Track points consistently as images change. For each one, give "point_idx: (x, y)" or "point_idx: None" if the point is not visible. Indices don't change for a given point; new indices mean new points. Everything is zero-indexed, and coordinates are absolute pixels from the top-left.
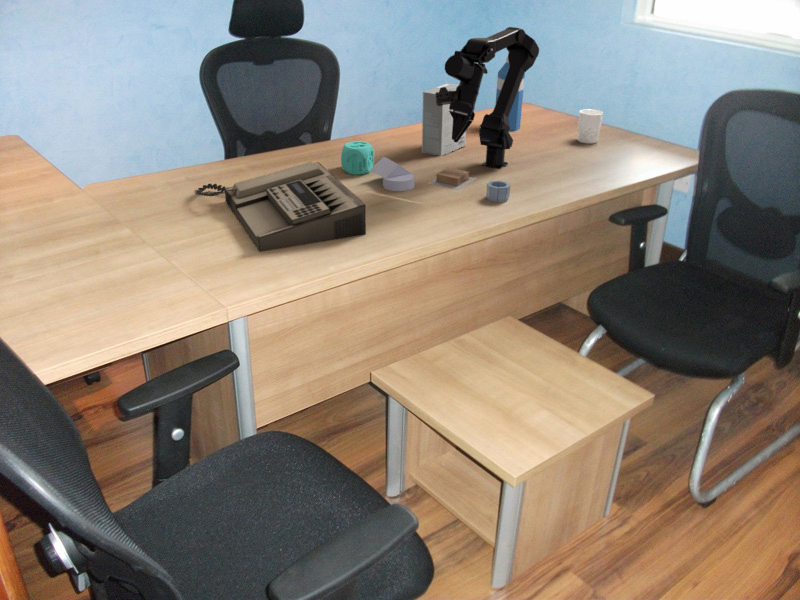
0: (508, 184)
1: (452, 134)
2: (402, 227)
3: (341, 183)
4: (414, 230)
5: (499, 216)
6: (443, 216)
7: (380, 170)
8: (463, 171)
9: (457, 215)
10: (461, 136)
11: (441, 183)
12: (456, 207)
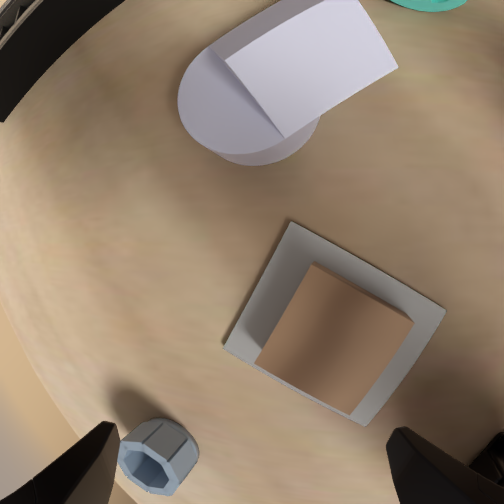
0: (151, 490)
1: (79, 442)
2: (12, 181)
3: (37, 6)
4: (4, 208)
5: (74, 406)
6: (48, 273)
7: (268, 12)
8: (355, 394)
9: (56, 310)
10: (402, 494)
11: (297, 284)
12: (95, 316)
